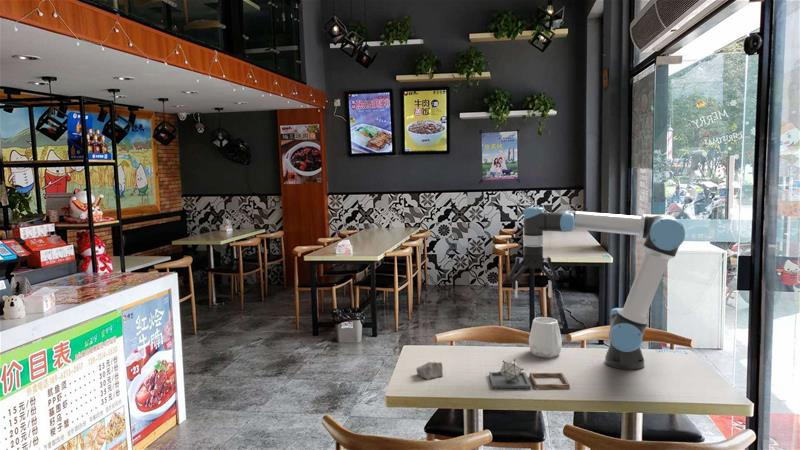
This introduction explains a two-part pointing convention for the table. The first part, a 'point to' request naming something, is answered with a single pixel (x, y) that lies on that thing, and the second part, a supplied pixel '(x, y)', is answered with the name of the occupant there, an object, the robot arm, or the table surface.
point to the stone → (430, 370)
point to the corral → (549, 386)
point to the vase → (545, 337)
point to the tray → (500, 381)
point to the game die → (510, 370)
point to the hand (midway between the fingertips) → (532, 297)
